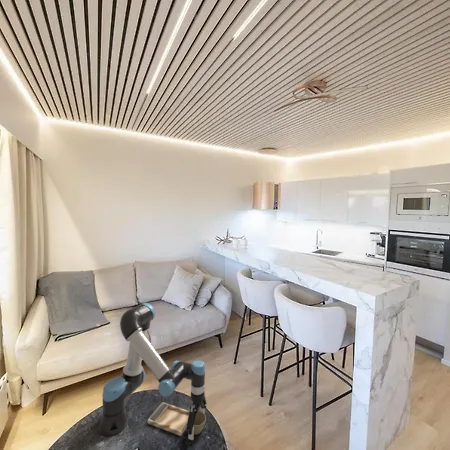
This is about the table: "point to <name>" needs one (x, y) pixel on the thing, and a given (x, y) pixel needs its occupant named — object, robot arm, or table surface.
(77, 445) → the table surface
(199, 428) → the flower pot
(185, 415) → the wooden tray
